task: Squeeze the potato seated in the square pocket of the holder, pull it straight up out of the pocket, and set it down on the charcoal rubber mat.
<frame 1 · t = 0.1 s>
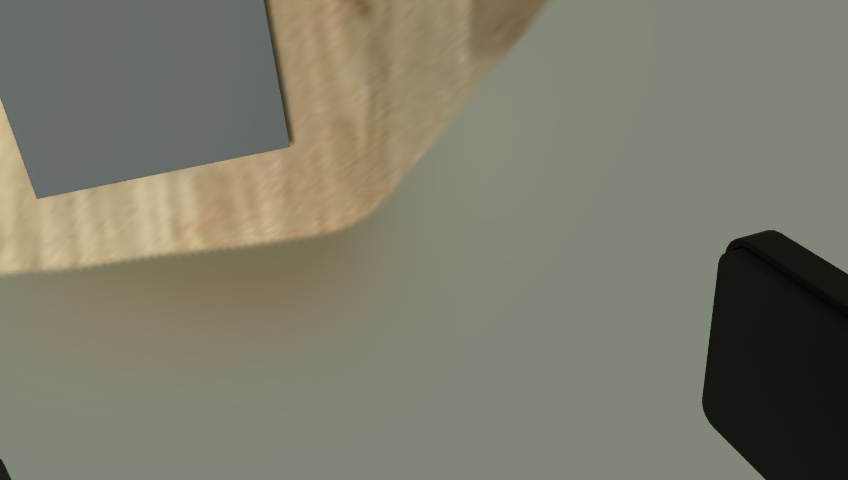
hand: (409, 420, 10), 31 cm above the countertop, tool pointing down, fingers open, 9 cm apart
mat: (135, 44, 36), on the countertop
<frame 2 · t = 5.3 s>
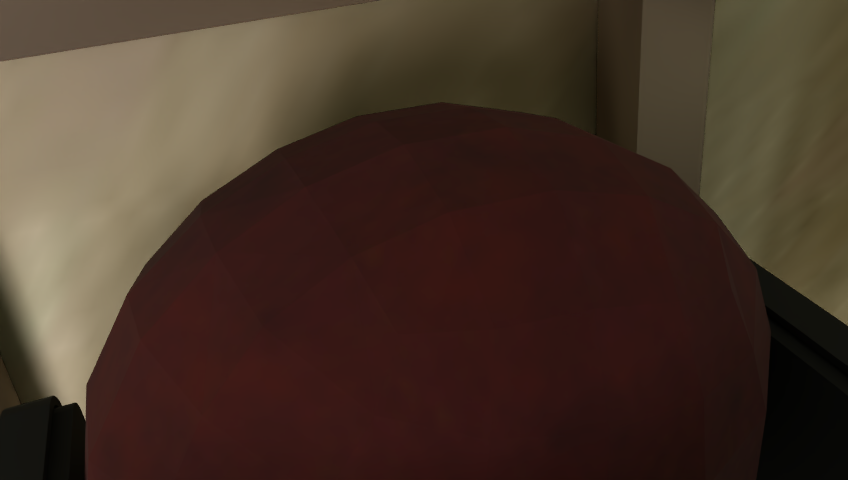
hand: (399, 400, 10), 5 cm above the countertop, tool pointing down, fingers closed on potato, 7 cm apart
holder: (323, 258, 15), on the countertop
potato: (350, 333, 12), point 4 cm above the countertop, touching gripper
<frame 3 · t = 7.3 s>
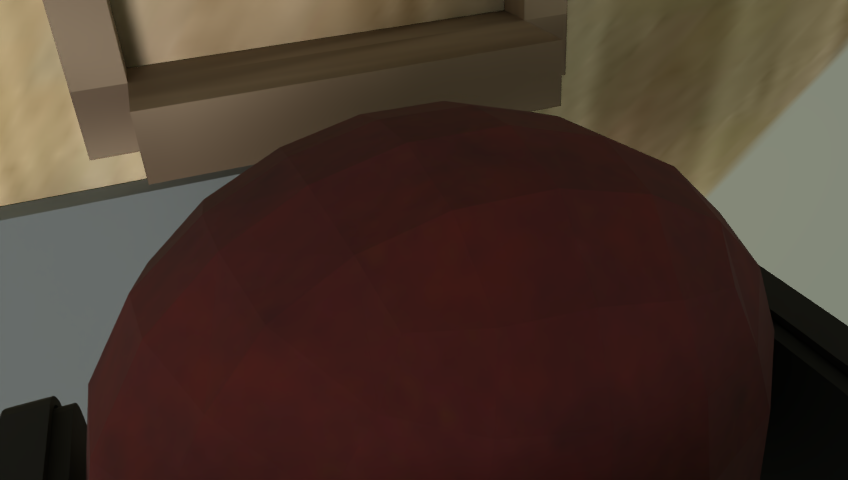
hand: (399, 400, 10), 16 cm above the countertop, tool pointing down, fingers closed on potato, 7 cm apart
potato: (352, 332, 12), point 15 cm above the countertop, touching gripper
mat: (134, 347, 27), on the countertop
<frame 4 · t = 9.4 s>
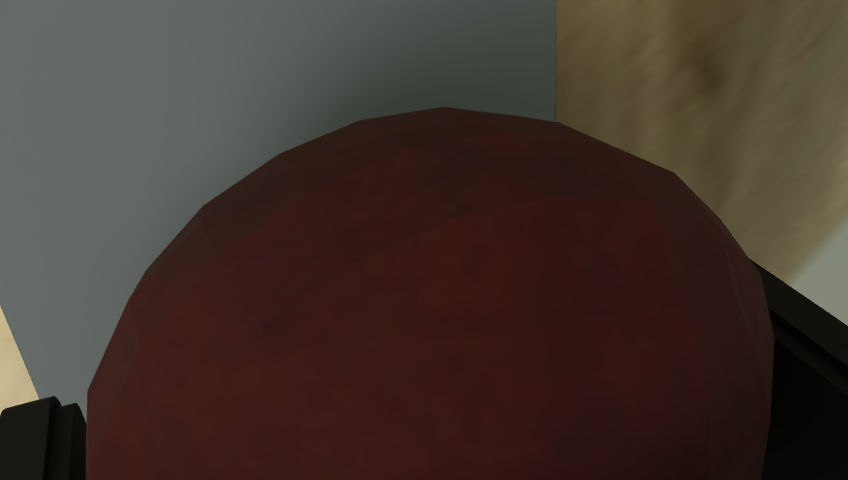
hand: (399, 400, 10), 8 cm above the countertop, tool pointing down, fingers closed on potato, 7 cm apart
potato: (352, 337, 12), point 6 cm above the countertop, touching gripper
mat: (285, 169, 17), on the countertop
when the fingers open (4 cm above the countertop, at t = 11.2 s): potato drops 1 cm, resting on mat.
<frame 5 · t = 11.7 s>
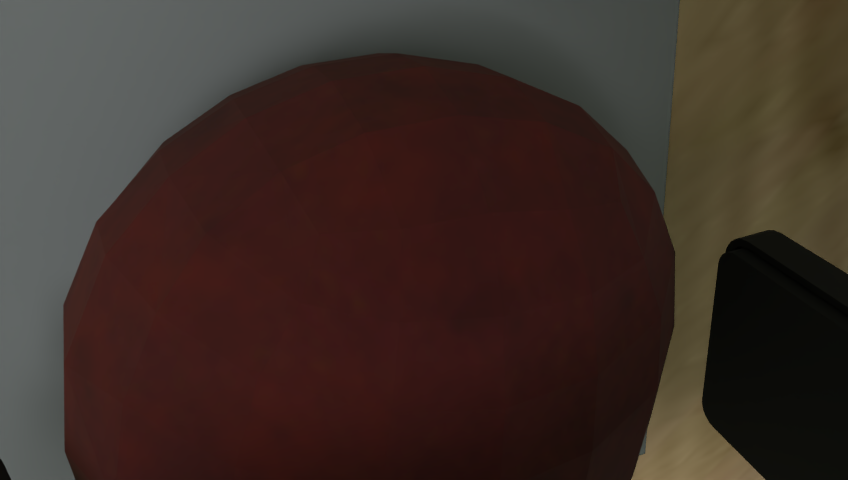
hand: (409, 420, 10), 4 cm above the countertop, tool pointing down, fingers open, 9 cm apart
potato: (316, 281, 13), point 1 cm above the countertop, touching mat
mat: (330, 264, 14), on the countertop
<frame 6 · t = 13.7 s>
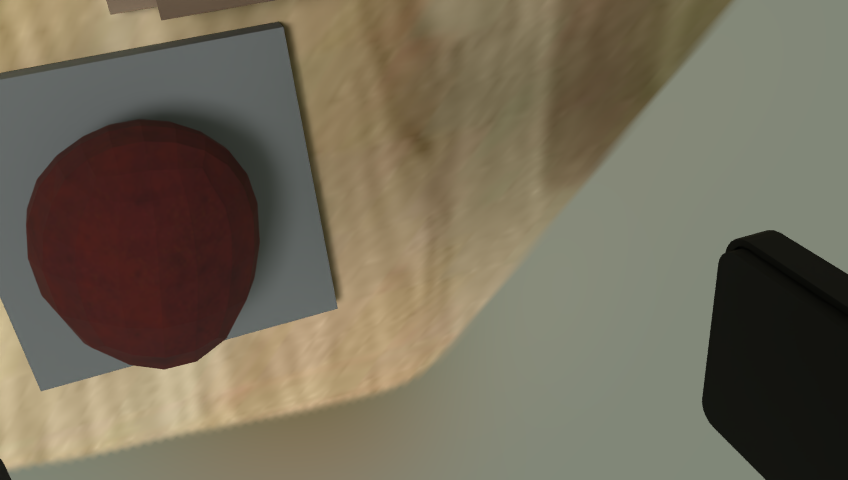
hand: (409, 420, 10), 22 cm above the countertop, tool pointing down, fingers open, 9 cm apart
potato: (143, 212, 29), point 1 cm above the countertop, touching mat
mat: (155, 207, 30), on the countertop
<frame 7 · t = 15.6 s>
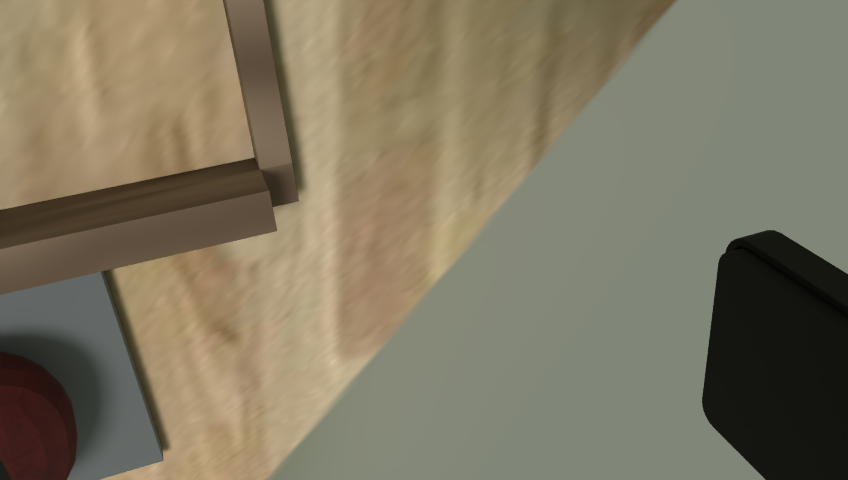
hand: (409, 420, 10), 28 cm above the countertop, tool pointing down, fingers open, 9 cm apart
holder: (89, 67, 33), on the countertop
mat: (7, 394, 39), on the countertop
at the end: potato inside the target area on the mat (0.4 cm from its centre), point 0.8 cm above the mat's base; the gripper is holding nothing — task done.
